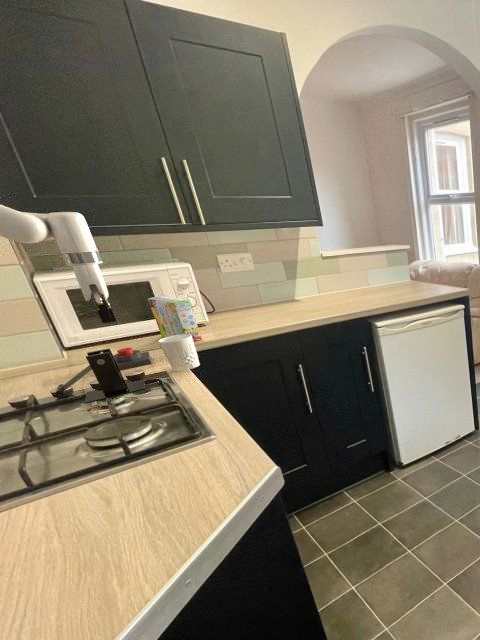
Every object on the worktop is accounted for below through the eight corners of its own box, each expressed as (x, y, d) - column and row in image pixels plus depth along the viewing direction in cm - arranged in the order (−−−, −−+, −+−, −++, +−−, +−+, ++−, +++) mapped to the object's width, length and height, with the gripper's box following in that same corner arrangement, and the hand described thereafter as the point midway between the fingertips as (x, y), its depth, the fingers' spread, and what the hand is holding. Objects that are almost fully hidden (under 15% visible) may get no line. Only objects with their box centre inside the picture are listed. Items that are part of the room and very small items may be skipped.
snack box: (204, 339, 156) (189, 299, 149) (187, 343, 151) (171, 302, 145) (177, 332, 166) (162, 294, 160) (160, 336, 161) (144, 298, 155)
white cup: (187, 375, 122) (174, 342, 118) (164, 374, 123) (151, 342, 119) (209, 365, 129) (197, 334, 125) (187, 364, 131) (175, 333, 126)
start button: (119, 357, 128) (116, 352, 128) (119, 354, 131) (117, 349, 130) (134, 354, 130) (132, 349, 130) (134, 352, 133) (131, 346, 132)
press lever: (62, 398, 103) (51, 392, 101) (64, 391, 107) (54, 385, 105) (110, 361, 106) (100, 354, 105) (111, 355, 111) (101, 349, 109)
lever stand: (86, 407, 105) (63, 363, 100) (88, 396, 111) (67, 354, 106) (147, 392, 112) (128, 350, 107) (146, 382, 118) (128, 343, 113)
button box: (110, 374, 126) (104, 361, 124) (111, 365, 133) (105, 354, 131) (152, 365, 132) (147, 353, 130) (150, 357, 139) (146, 346, 137)
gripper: (67, 258, 122) (94, 320, 129) (61, 262, 111) (91, 329, 119) (101, 255, 126) (126, 315, 134) (99, 259, 116) (126, 324, 123)
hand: (109, 321), depth 126 cm, fingers closed
